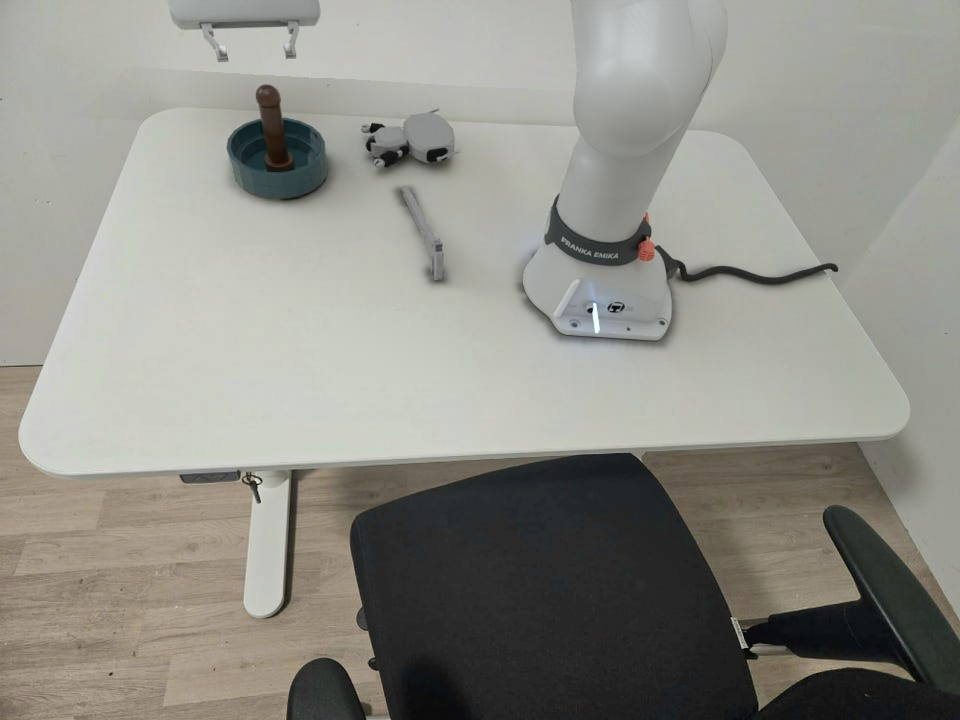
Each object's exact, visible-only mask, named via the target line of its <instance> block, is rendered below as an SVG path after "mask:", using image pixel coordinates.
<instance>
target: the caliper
mask: <svg viewBox="0 0 960 720" xmlns="http://www.w3.org/2000/svg"><path fill="white" fill-rule="evenodd" d="M400 190H401V193H402V196H403V199H404V202H405V204H406V205H407V207H408V210H409V212H410V213H411V215H412V218H413V219H414V222H415V224H416V226H417V228H418V230H419V232H420V234H421V236H422V239H423V240H422V241H423V245H424V247H425V249H426V250H427V251H428V253H429V263H430V264H429V265H430V273H431V275H433V279H434V281H438V280H442V279H443V273H444V251H443V242H442V243H441V238H437V237H436V235H435V233H434V231H433V229H432V227H431V226H429V224H428V222H427V220H426V218H425V217H424V215H423V212H422V211H421V208H420V206H419V204H418V203H417V200H416V198H415V197H414V195H413V192H412V191H411V189H410V187H401V188H400Z"/></svg>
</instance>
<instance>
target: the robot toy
mask: <svg viewBox="0 0 960 720" xmlns="http://www.w3.org/2000/svg"><path fill="white" fill-rule="evenodd" d="M440 110H441V108H439V107H437V108H435V109H433V110H430V111H428V112H424V113H423V112H422V113H417V114H411V115H409V117H407V118H405V120H404V122H403V126H402V127H403V128H401V126H386V125H384V124H382V123H377V122H371V123H370V125H369V124H368V123H367V124H362V125H361V128H360V131H361V132H362V133H363V134H369V135H368V140H367V141H366V143H365V148H366V150H367V151H368V152H369V153H371V155H372V156H373V157H374V158H376V159H374V160H373V163H372V165H373V166H374V167H375V168H377V169H382V168H389V167H392V166H393V165H395V164H396V163H397V160H398V159H399V158H401V157H402V158H403V157H407V156H409V155H410V154H411V156H412V157H414V158H415V159H416V160H418V161H420V162H423V163H426V164H429V163H436V162H437V163H438V162H442V161H447V160H449V158H451V157H452V156H453V155H457V154H460V152H461V149H457V150H455V144H456V143H455V142H456V139H455V138H456V137H455V133H454V128H453V127H452V126H451V125H450V124H449V122H448V121H447V120H446V119H445V118H444V117H442V116H441V115H440V114H437V112H439V111H440Z"/></svg>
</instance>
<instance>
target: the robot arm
mask: <svg viewBox="0 0 960 720" xmlns="http://www.w3.org/2000/svg"><path fill="white" fill-rule="evenodd" d="M569 3H570V9H571V10H570V11H571V20H572V29H573V38H574V39H573V40H574V49H575V59H576V80H575V88H574V94H573V101H572V111H573V118H574V123H575V124H576V127H577V129H578V132H579V133H580V134H579V136H578V138H577V140H576V142H575V144H574V146H573V149H572V152H571V156H570V159H569V162H568V165H567V168H566V172H565V175H564V178H563V181H562V185H561V188H560V192H559V193H557V194H556V196H555V198H554V200H553V202H552V206H550V209H549V212H548V216H547V219H546V222H545V226H544V230H543V234H544V235H543V239H542V241H541V243H540V245H539V247H538V249H537V251H536V252H535V254H533V255H534V256H533V257H532V258H531V260H530V261H529V262H528V263H527V264H526V265H525V267H524V270H523V274H522V285H523V289H524V291H525V294H526V296H527V297H528V299H529V300H530V301H531V303H532V304H533V306H535V307H536V308H537V309H538V310H539V311H541V313H543V314H544V315H546V316H547V317H548V318H549V319H550V321H551V323H552V324H553V326H554V327H555V329H556V330H557V331H558V332H559V333H560V334H562V335H566V336H577V337H579V336H580V337H593V338H610V339H624V340H638V341H639V340H641V341H660V340H661V339H662V338H663V337H664V336H665V334H666V332H667V331H668V329H669V326H670V323H671V320H672V314H673V313H672V312H673V300H672V295H671V289H670V287H669V284H668V281H670V280H671V279H673V278H674V276H675V274H676V272H677V271H678V269H679V274H680V277H681V278H682V279H683V280H685V281H688V282H693V281H698V280H701V279H703V278H706V277H708V276H710V275H712V274H717V273H728V274H734V275H737V276H739V277H742V278H746V279H748V280H751V281H755V282H758V283H762V284H770V285H771V284H776V285H777V284H784V283H787V282H790V281H793V280H795V279H799V278H802V277H806V276H810V275H813V274H817V273H820V272H823V271H825V270H831V271H832V272H834V273H838V272H839V267H838V265H837V264H836V263H833V262H826V263H823V264H820V265H816V266H814V267H810V268H807V269H801V270H799V271H796V272H793V273H790V274H787V275H783V276H777V277H776V276H773V277H772V276H764V275H759V274H756V273H753V272H750V271H747V270H745V269H743V268H738V267H735V266H729V265H716V266H712V267H709V268H707V269H705V270H702V271H699V272H697V273H694V274H689V273H688V272H687V266H686V264H685V263H684V262H683V261H682V260H678V259H675V258H673V257H672V256H671V255H670V254H669V253H668V252H667V251H666V250H665V249H664V248H663V247H662V246H661V245H660V244H658V245H655V243H653V241H650V239H651V237H652V233H653V232H652V230H653V229H652V226H651V225H650V217H649V213H648V209H649V207H650V205H651V203H652V201H653V199H654V197H655V195H656V193H657V191H658V189H659V186H660V184H661V182H662V180H663V178H664V176H665V174H666V172H667V170H668V168H669V166H670V164H671V162H672V160H673V158H674V157H675V155H676V153H677V151H678V149H679V146H680V144H681V143H682V140H683V138H684V136H685V134H686V132H687V130H688V128H689V127H690V124H691V122H692V121H693V118H694V117H695V114H696V113H697V110H698V108H699V107H700V105H701V103H702V100H703V98H704V96H705V94H706V92H707V90H708V89H709V86H710V85H711V83H712V80H713V78H714V77H715V74H716V72H717V70H718V69H719V66H720V64H721V62H722V60H723V57H724V54H725V51H726V47H727V42H728V36H729V35H728V33H729V15H728V10H727V6H726V4H725V2H724V0H570V2H569ZM167 5H168V10H169V15H170V19H171V21H172V23H173V24H174V25H175V26H176V27H177V28H179V30H182V31H192V30H193V31H195V30H201V31H202V35H203V39H205V41H206V42H207V43H208V44H209V45H210V46H211V49H213V50H214V51H215V57H216V60H217V63H229V56H228V52H227V48H226V45H225V44H219V42H218V41H216V38H214V37H215V34H214V33H215V32H214V30H219V29H220V30H222V29H223V30H227V29H259V28H262V29H263V28H287V32H288V34H289V35H291V36H290V39H289V42H283V51H284V57H285V60H294V59H297V50H296V46H295V45H296V42H297V39H298V37H299V33H300V27H315V26H317V24H318V22H319V21H320V18H321V6H320V0H167Z"/></svg>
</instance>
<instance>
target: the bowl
mask: <svg viewBox="0 0 960 720" xmlns="http://www.w3.org/2000/svg"><path fill="white" fill-rule="evenodd" d="M282 118H283V124H284V131H285V137H286V143H287V150H288V152H290V153H291V154H292V155H293V158H294V165H295V170H292V171H286V172H267V171H266V167H265V162H264V156H265V154H266V153H267V147H266V142H265V137H264V132H263V126H262V121H261V118H257V119H254V120H251V121H248V122H245V123H243V124H242V125H240V126H239V127H237V128H236V129H234V130H233V131H232V132H231V134H230V135H229V137H228V138H227V142H226V152H227V155H228V160H229V163H230V167H231V172H232V174H233V177H234V180H235V182H236V183H238V185H239V186H240V187H241V188H242V189H244V190H245V191H247V192H249V193H251V194H252V195H255V196H259V197H263V198H268V199H281V200H282V199H292V198H296V197H302V196H305V195H306V194H308V193H310V192H312V191H315V190H316V189H317V188H318V187H320V186H321V185H322V184H323V183H324V180H325V179H326V177H327V176H328V161H327V160H328V159H327V150H326V141H325V140H324V138H323V136H322V134H321V133H320V132H319V131H318V130H317V129H316V128H315V127H314V126H312V125H310V124H308V123H306V122H304V121H302V120H299V119H293V118H289V117H282Z"/></svg>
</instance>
